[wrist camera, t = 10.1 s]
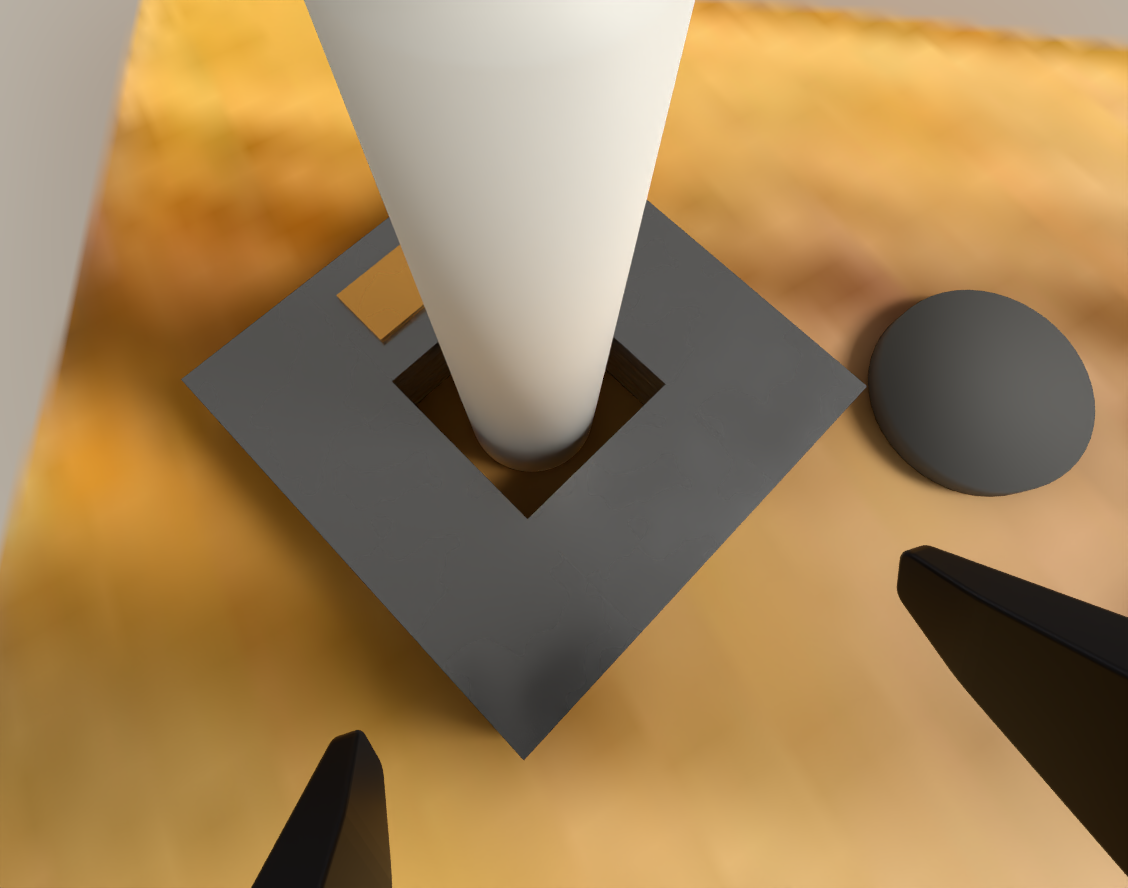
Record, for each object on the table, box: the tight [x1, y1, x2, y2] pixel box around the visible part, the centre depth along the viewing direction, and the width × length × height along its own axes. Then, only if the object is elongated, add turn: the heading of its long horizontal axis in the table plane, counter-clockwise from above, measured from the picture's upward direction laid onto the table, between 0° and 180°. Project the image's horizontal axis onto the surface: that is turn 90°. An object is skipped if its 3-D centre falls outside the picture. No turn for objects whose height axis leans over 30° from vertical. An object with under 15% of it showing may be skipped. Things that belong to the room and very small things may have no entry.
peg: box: [304, 0, 695, 472], centre depth 13 cm, size 4×4×15 cm
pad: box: [868, 290, 1095, 497], centre depth 20 cm, size 7×7×1 cm
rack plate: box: [181, 200, 867, 760], centre depth 19 cm, size 14×14×3 cm
